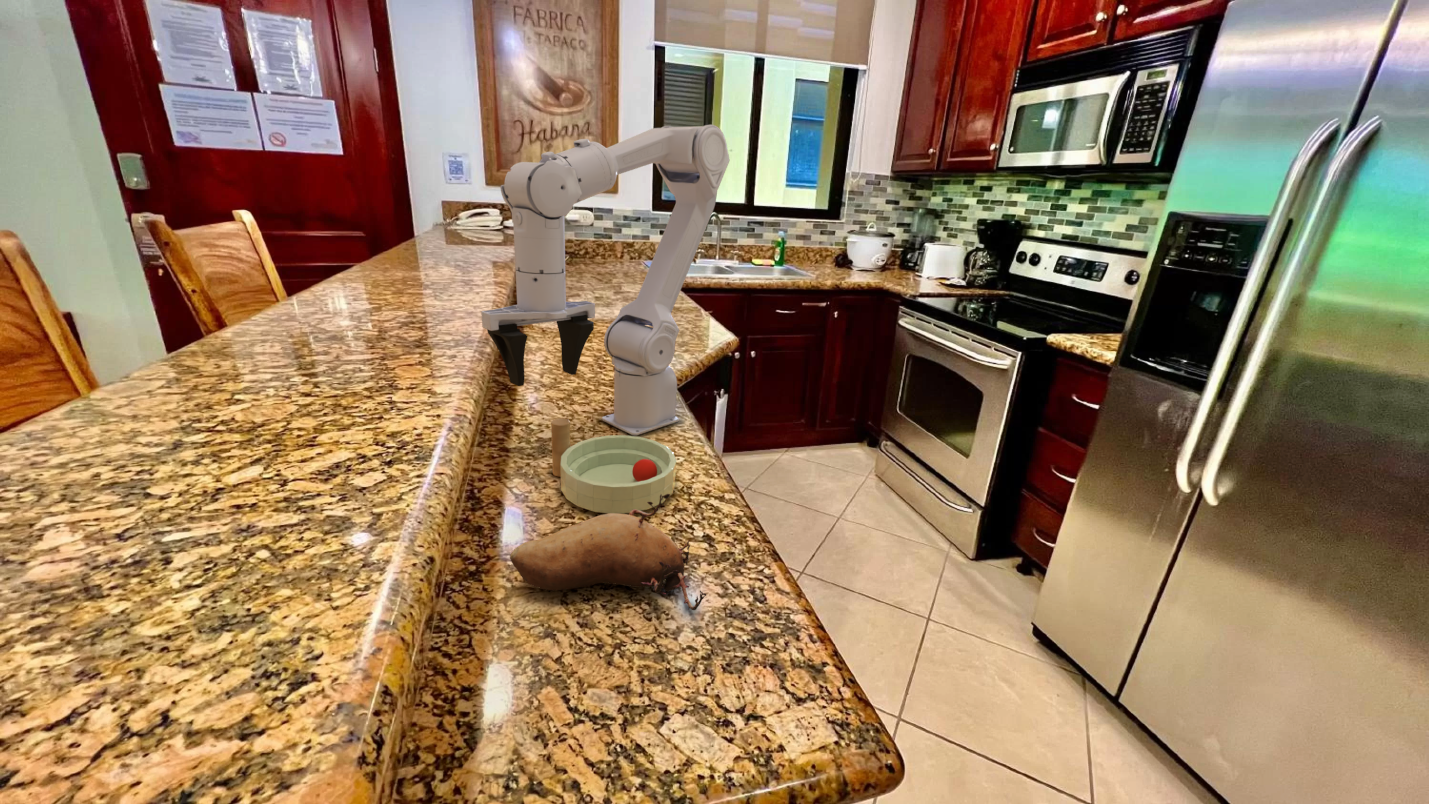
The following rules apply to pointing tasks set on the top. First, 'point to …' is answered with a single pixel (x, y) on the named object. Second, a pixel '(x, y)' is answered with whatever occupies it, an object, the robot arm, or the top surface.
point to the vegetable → (605, 556)
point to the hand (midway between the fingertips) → (544, 378)
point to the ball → (644, 470)
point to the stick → (559, 442)
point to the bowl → (615, 474)
